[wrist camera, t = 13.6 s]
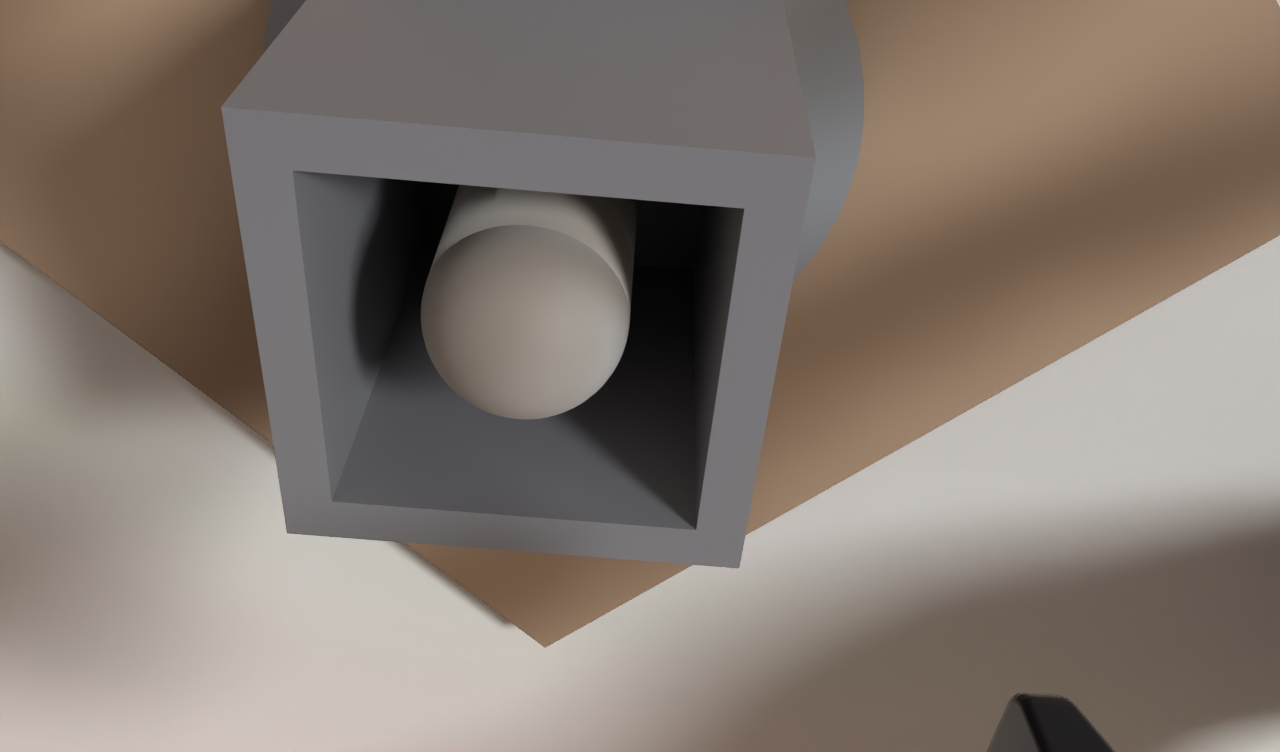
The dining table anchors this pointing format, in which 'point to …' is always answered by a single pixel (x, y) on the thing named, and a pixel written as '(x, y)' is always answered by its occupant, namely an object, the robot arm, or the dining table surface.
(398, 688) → the dining table surface
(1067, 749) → the robot arm
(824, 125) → the duct base
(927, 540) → the dining table surface
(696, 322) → the duct collar
